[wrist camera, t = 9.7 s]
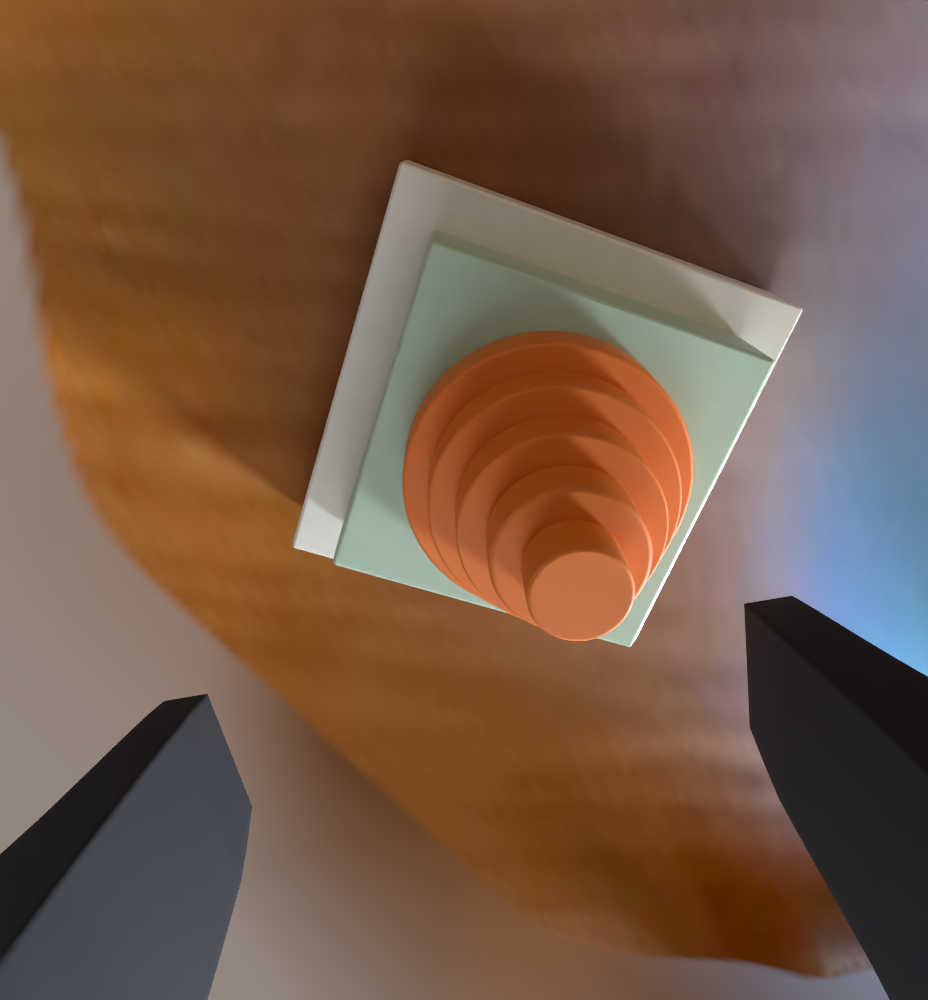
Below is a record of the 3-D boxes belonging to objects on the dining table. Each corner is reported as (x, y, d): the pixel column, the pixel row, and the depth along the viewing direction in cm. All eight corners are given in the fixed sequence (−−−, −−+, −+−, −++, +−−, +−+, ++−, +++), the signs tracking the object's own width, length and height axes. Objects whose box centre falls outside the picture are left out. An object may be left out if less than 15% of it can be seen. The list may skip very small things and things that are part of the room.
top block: (342, 524, 19) (331, 565, 17) (433, 228, 16) (431, 239, 14) (614, 602, 20) (631, 649, 18) (742, 337, 17) (777, 360, 15)
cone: (371, 545, 17) (343, 698, 12) (455, 289, 15) (460, 356, 10) (614, 615, 18) (674, 781, 13) (728, 382, 15) (847, 483, 11)
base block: (304, 512, 21) (290, 548, 19) (404, 158, 17) (400, 160, 15) (618, 603, 22) (634, 644, 20) (770, 291, 19) (805, 308, 17)
